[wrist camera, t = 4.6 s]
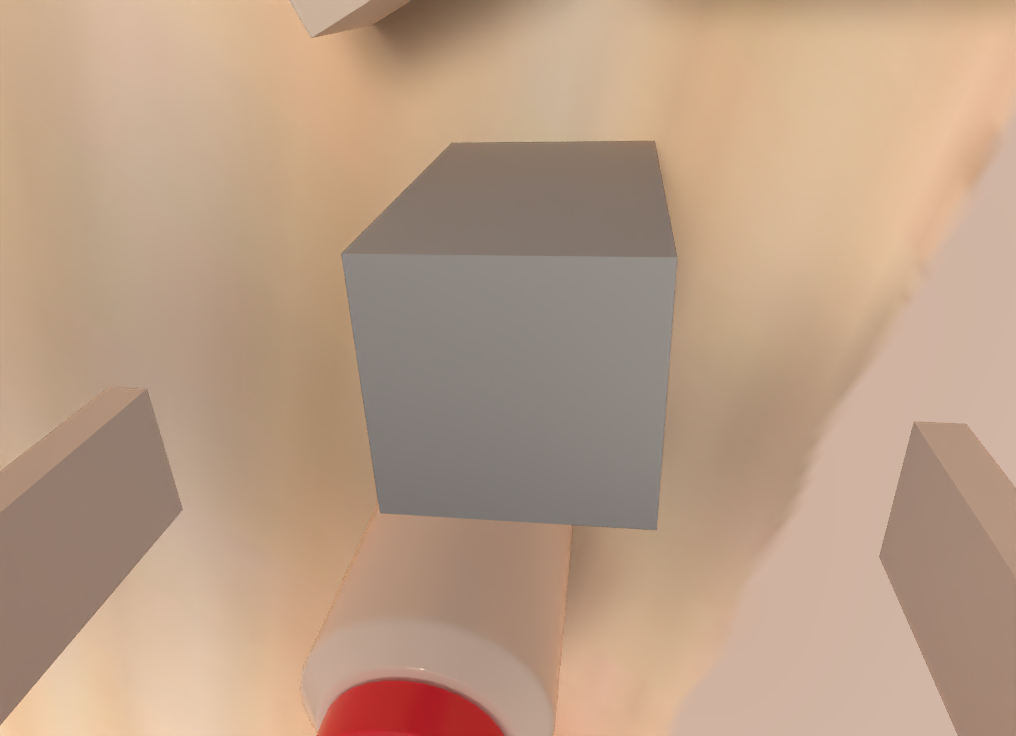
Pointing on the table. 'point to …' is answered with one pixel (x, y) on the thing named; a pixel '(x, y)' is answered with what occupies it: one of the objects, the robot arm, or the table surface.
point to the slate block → (519, 334)
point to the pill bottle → (443, 631)
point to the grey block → (342, 14)
